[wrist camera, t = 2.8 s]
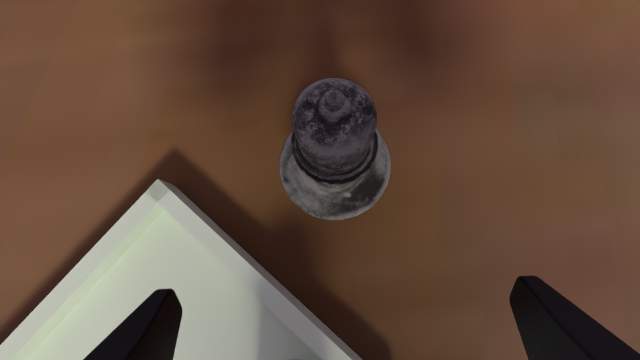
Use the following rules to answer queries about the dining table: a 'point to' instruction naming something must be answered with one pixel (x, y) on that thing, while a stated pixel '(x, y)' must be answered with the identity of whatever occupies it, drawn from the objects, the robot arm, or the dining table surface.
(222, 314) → the tray
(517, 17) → the dining table surface
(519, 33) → the dining table surface
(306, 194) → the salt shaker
